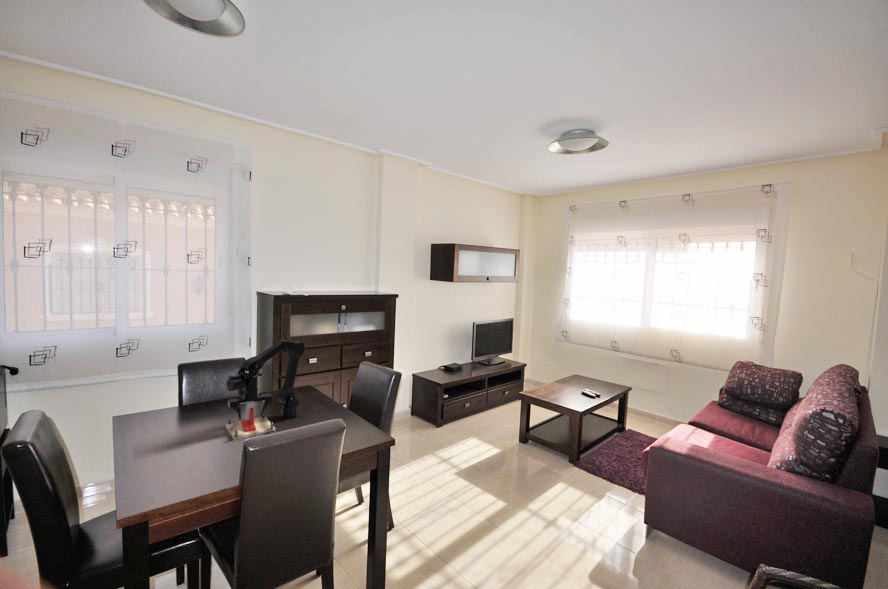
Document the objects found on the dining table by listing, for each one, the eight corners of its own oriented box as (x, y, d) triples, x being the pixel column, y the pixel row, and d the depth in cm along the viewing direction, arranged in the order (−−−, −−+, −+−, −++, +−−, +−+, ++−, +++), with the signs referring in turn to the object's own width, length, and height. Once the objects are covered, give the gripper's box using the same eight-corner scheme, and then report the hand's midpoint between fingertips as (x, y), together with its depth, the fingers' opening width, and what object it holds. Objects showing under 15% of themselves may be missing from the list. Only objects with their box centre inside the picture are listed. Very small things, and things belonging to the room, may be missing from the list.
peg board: (265, 419, 201) (265, 410, 201) (275, 431, 187) (275, 422, 187) (225, 426, 190) (225, 417, 190) (233, 440, 176) (233, 431, 176)
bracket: (241, 422, 192) (241, 407, 191) (251, 421, 195) (251, 405, 194) (245, 432, 182) (245, 415, 182) (255, 430, 185) (256, 413, 184)
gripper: (267, 379, 199) (266, 409, 200) (225, 384, 188) (225, 416, 189) (273, 385, 191) (273, 416, 192) (230, 391, 179) (230, 424, 180)
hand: (250, 418), depth 188 cm, fingers open, 9 cm apart
